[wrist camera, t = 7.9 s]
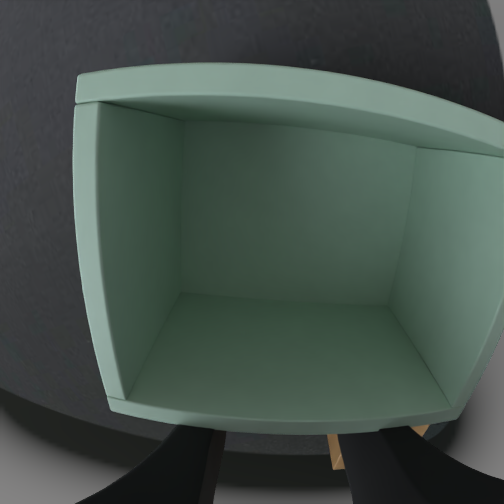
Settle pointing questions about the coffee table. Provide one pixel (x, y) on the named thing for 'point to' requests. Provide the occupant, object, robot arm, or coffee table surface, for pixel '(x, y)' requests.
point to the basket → (286, 246)
